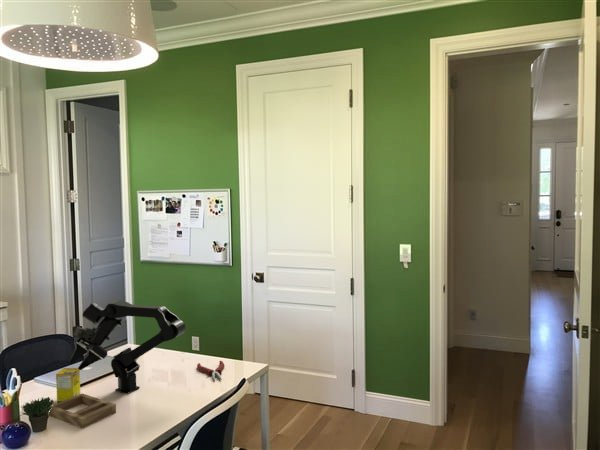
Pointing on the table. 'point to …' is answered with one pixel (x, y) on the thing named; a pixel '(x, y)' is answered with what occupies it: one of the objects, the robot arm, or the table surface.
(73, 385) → the supplement box
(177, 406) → the table surface
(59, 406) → the socket plate
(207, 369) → the pliers
